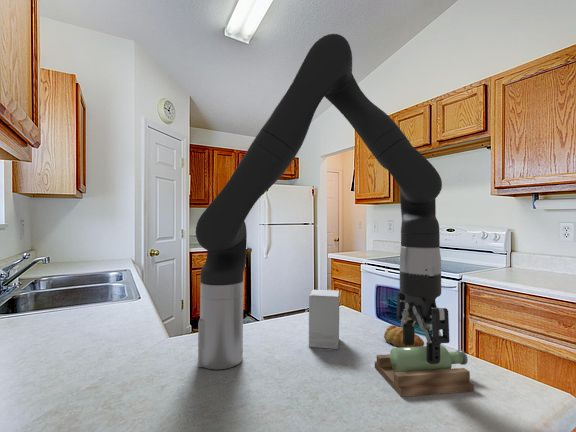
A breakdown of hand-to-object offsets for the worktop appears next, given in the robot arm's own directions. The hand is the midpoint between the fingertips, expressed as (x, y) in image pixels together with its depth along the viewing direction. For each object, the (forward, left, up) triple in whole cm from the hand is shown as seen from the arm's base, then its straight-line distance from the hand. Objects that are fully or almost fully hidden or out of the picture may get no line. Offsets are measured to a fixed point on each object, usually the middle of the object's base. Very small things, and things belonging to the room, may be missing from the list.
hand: (420, 353), depth 60 cm
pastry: (+6, +17, -5) cm, 19 cm away
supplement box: (-14, +20, -5) cm, 25 cm away
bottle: (+2, 0, -4) cm, 4 cm away
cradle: (0, 0, -5) cm, 5 cm away
